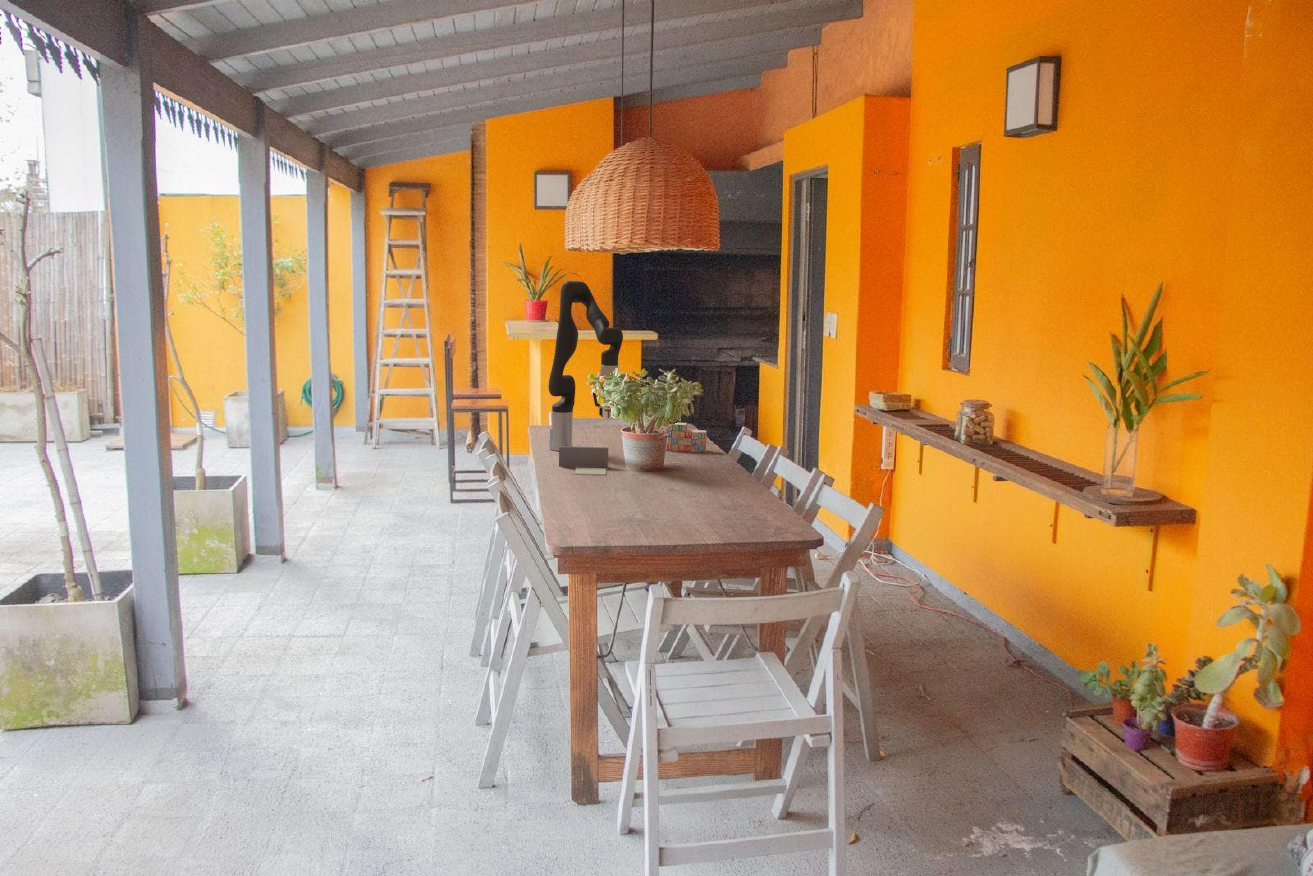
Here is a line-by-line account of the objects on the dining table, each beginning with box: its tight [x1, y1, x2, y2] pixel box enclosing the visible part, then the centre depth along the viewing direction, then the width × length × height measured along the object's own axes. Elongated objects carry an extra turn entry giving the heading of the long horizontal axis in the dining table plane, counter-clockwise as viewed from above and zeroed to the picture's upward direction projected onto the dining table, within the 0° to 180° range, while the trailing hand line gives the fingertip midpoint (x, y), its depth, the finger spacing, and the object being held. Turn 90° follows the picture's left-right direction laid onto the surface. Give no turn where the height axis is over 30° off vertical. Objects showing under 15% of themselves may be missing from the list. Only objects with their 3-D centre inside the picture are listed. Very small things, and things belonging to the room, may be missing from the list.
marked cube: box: [601, 405, 616, 421], centre depth 420 cm, size 5×5×5 cm
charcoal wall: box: [558, 446, 609, 468], centre depth 413 cm, size 20×2×8 cm, turn 93°
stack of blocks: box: [666, 422, 708, 453], centre depth 459 cm, size 21×6×12 cm, turn 81°
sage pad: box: [574, 467, 607, 476], centre depth 403 cm, size 12×12×1 cm
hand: (608, 416), depth 421 cm, fingers closed on marked cube, 5 cm apart
